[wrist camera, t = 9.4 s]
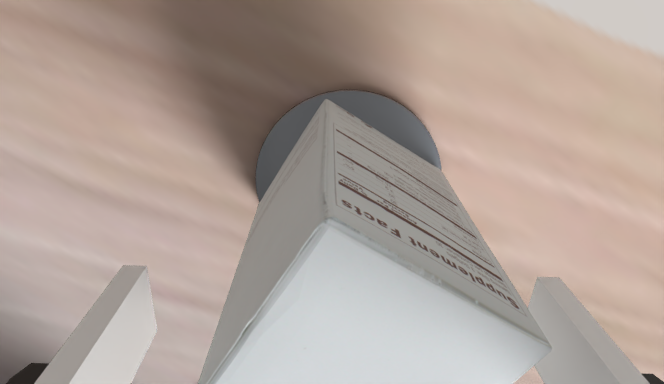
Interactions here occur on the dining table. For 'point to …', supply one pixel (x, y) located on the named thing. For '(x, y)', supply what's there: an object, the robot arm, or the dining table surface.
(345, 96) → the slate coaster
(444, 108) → the dining table surface
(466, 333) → the supplement box
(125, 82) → the dining table surface
